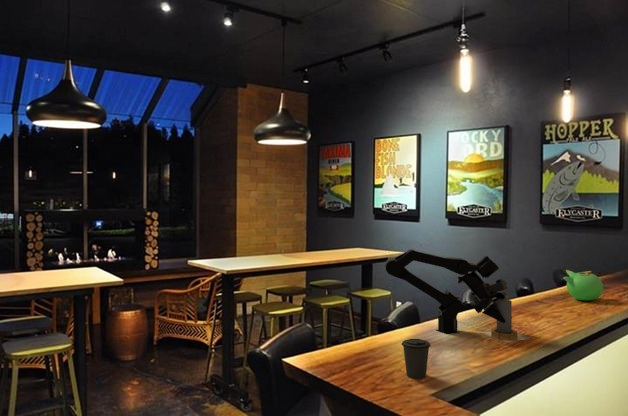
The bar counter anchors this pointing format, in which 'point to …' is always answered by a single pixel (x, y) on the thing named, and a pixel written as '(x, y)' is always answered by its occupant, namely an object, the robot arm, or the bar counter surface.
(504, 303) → the dark grey cylinder
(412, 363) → the coffee cup
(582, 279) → the toy bird
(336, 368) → the bar counter surface
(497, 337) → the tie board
